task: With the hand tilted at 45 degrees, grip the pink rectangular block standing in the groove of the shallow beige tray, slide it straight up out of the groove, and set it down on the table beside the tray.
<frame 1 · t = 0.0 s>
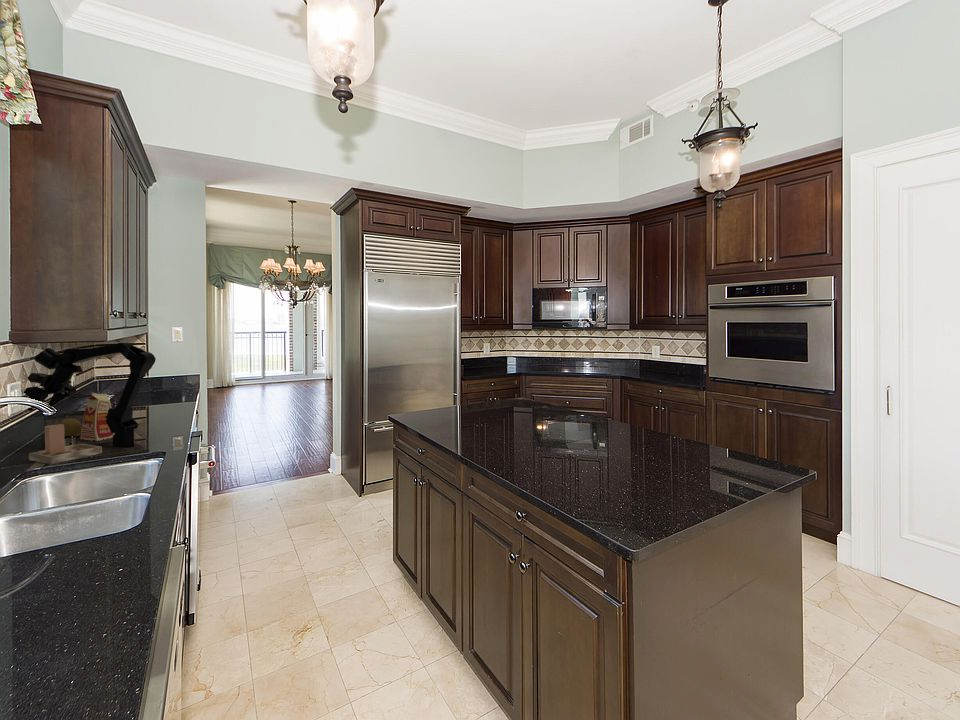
hand: (39, 408, 185), 15 cm above the table, tool tilted 35°, fingers open, 9 cm apart
pink rectangular block: (55, 458, 166), point 1 cm above the table, touching beige tray
beige tray: (66, 458, 170), on the table
potato: (71, 437, 202), on the table
milk carton: (99, 438, 201), on the table
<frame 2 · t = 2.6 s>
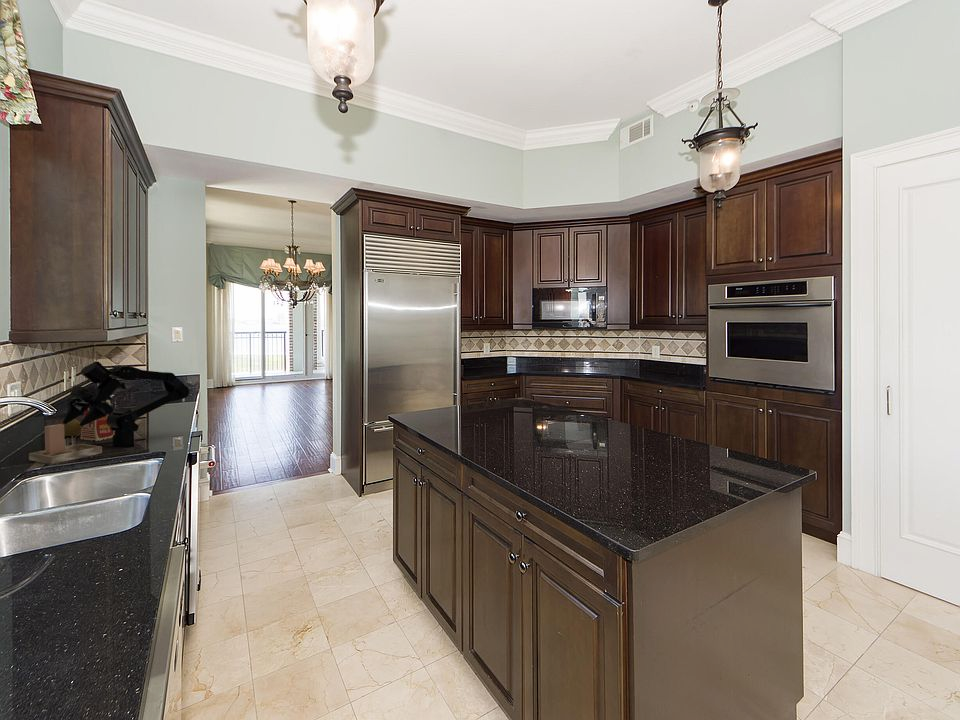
hand: (71, 424, 171), 12 cm above the table, tool tilted 45°, fingers open, 9 cm apart
nothing on the table moved.
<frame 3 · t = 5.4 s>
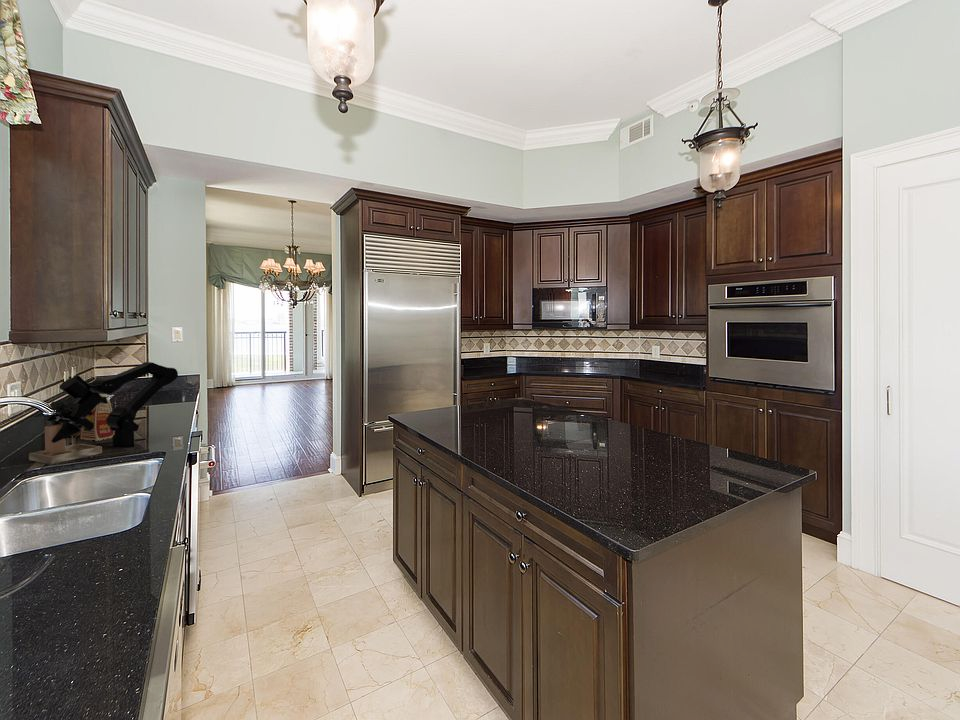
hand: (50, 441, 165), 7 cm above the table, tool tilted 45°, fingers closed on pink rectangular block, 2 cm apart
pink rectangular block: (55, 458, 166), point 1 cm above the table, touching gripper, beige tray
everything else where it was.
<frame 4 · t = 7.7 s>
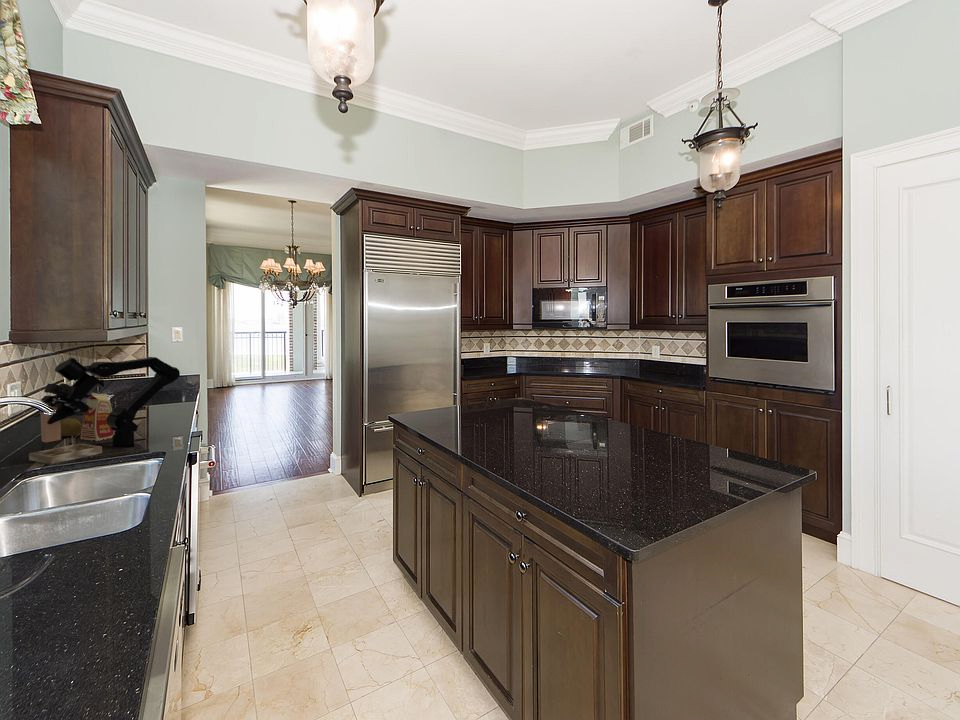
hand: (45, 423, 165), 13 cm above the table, tool tilted 45°, fingers closed on pink rectangular block, 2 cm apart
pink rectangular block: (51, 440, 167), point 7 cm above the table, touching gripper
everything else where it was.
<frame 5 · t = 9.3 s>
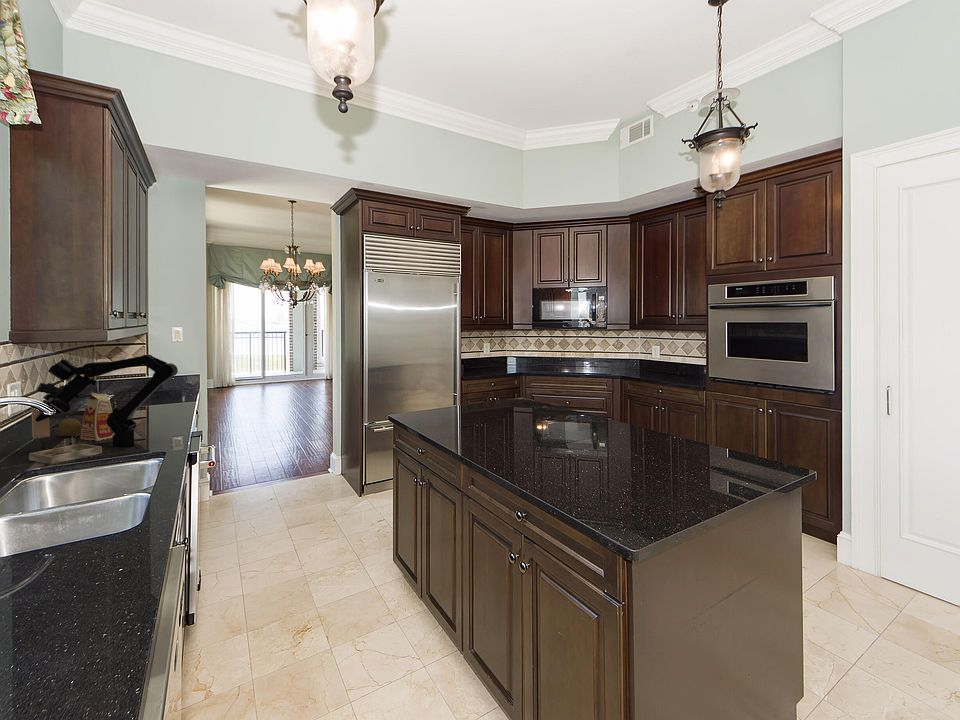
hand: (35, 420, 174), 13 cm above the table, tool tilted 45°, fingers closed on pink rectangular block, 2 cm apart
pink rectangular block: (41, 437, 175), point 6 cm above the table, touching gripper
everything else where it was.
when the fingers open (8 cm above the table, at t = 10.5 s): pink rectangular block drops 1 cm, on the table.
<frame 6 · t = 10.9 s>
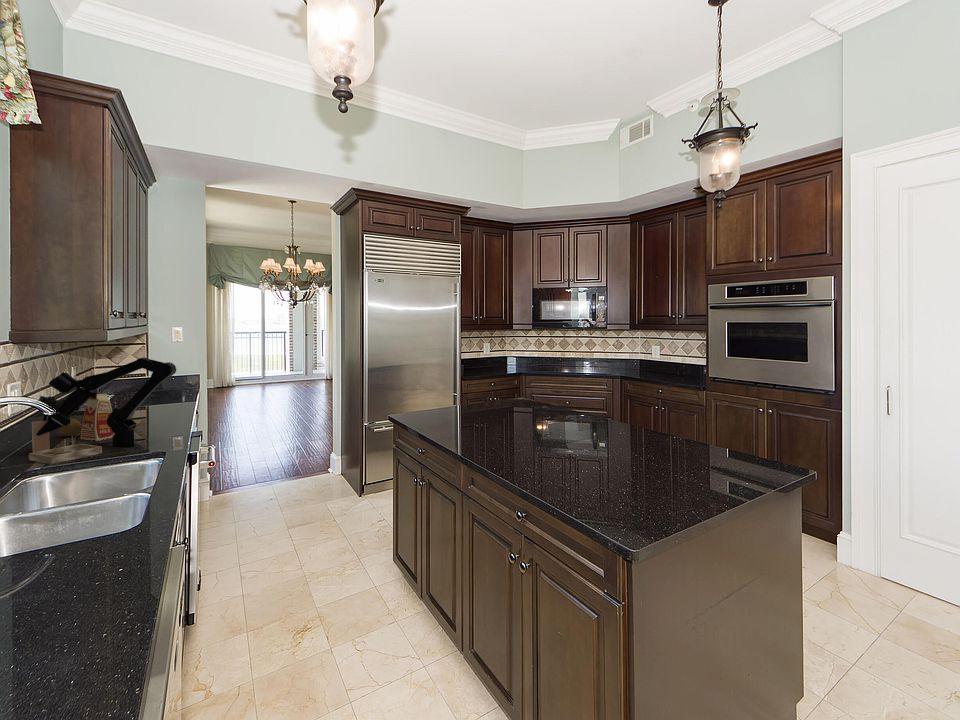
hand: (35, 433, 174), 8 cm above the table, tool tilted 45°, fingers open, 7 cm apart
pink rectangular block: (41, 453, 175), on the table
everything else where it was.
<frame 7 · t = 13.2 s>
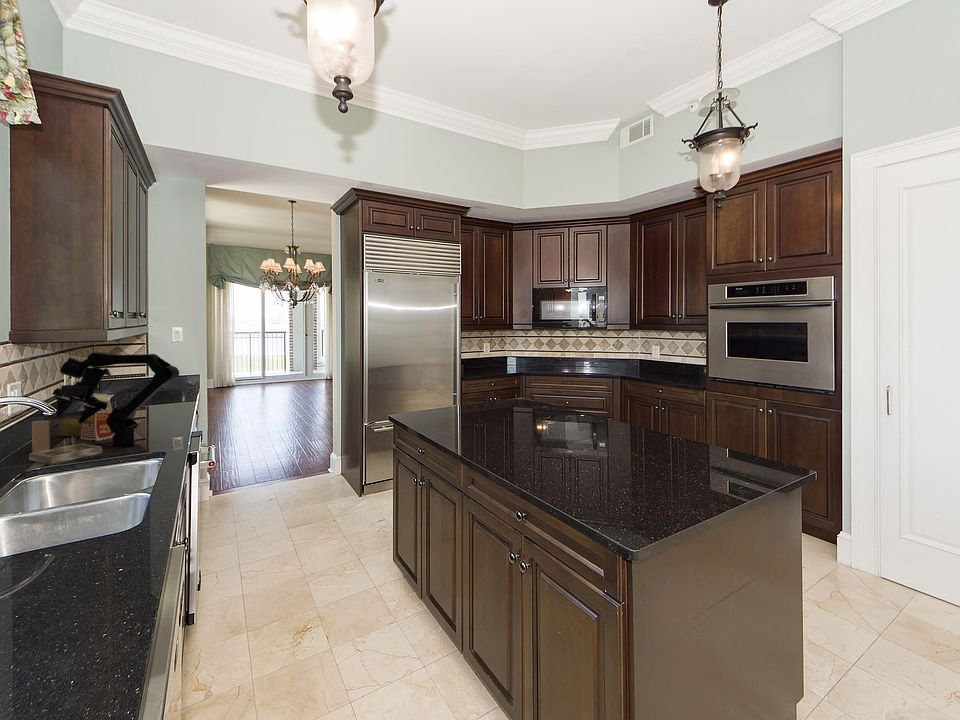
hand: (68, 420, 180), 12 cm above the table, tool tilted 25°, fingers open, 9 cm apart
nothing on the table moved.
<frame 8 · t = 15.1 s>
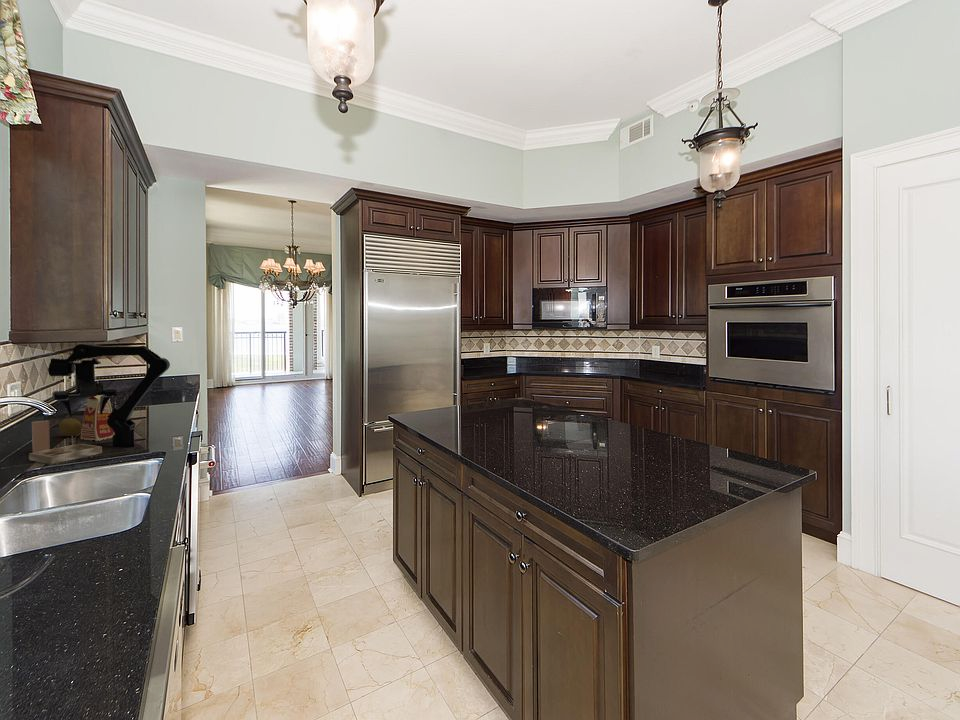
hand: (85, 415, 183), 13 cm above the table, tool pointing down, fingers open, 9 cm apart
nothing on the table moved.
at the end: pink rectangular block touching table; pink rectangular block moved 16.2 cm from its start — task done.
